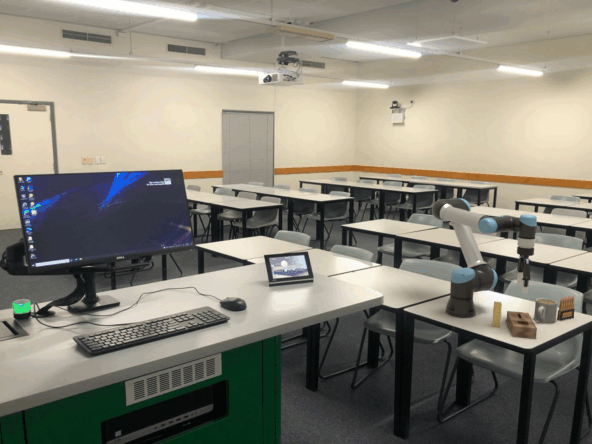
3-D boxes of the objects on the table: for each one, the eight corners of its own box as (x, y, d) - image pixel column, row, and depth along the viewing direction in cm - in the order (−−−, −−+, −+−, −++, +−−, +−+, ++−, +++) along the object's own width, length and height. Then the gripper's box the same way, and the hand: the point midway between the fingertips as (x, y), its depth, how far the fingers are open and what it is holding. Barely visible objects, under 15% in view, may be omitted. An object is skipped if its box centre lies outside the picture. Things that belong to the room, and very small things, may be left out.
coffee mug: (541, 315, 262) (543, 297, 261) (559, 321, 254) (561, 302, 252) (525, 319, 256) (527, 301, 254) (544, 326, 247) (545, 306, 246)
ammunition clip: (570, 316, 261) (572, 294, 259) (573, 317, 259) (576, 295, 257) (556, 319, 256) (559, 297, 254) (560, 321, 255) (562, 298, 253)
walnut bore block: (512, 336, 234) (513, 326, 233) (506, 320, 255) (507, 310, 254) (536, 338, 231) (536, 328, 230) (527, 322, 252) (528, 312, 251)
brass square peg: (492, 326, 246) (494, 303, 244) (492, 324, 249) (494, 301, 247) (499, 327, 245) (501, 304, 243) (499, 325, 248) (500, 301, 246)
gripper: (539, 252, 229) (535, 297, 232) (529, 242, 252) (525, 282, 256) (522, 251, 230) (518, 295, 234) (513, 241, 254) (509, 281, 258)
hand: (522, 289), depth 245 cm, fingers open, 13 cm apart
